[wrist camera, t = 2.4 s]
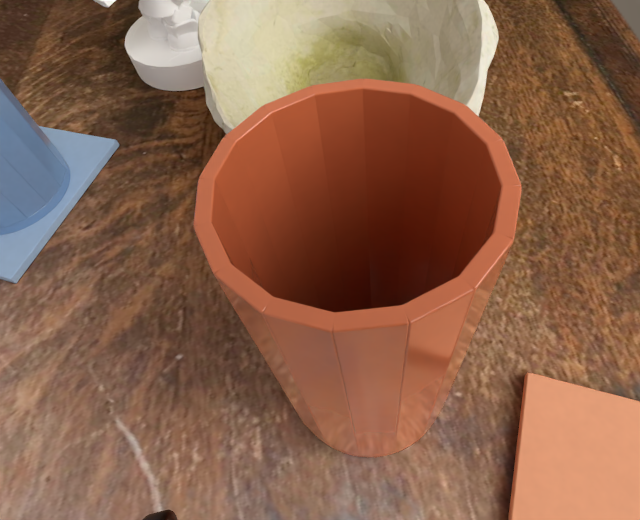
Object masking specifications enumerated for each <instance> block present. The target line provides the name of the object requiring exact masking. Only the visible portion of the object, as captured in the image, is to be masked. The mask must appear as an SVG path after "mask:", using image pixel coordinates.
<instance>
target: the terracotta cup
mask: <svg viewBox="0 0 640 520" xmlns="http://www.w3.org/2000/svg"><path fill="white" fill-rule="evenodd" d="M521 192H522V188H521V183H520V180H519V178H518V175H517V173H516V170H515V168H514V165H513V163H512V160H511V158H510V155H509V153H508V150H507V148H506V145H505V143H504V141H503V140H502V138H501V137H500V136H499V135H498V134H497V133H496V132H495V131H494V130H493V129H491V128H490V127H489V126H488V125H487V124H486V123H485V122H484V121H483V120H482V119H481V118H480V117H478V116H477V115H476V114H475V113H474V112H473V111H472V110H471V109H470V108H469V107H468V106H466V105H464V104H463V103H460V102H458V101H456V100H453V99H451V98H449V97H446V96H444V95H441V94H439V93H437V92H434V91H432V90H430V89H427V88H425V87H422V86H420V85H416V84H411V83H402V82H394V81H385V80H376V79H368V78H364V79H363V78H360V79H353V80H346V81H339V82H332V83H324V84H317V85H312V86H308V87H306V88H303V89H301V90H298V91H296V92H294V93H291V94H289V95H286V96H284V97H282V98H279V99H277V100H274V101H272V102H269V103H267V104H265V105H263V106H261V107H260V108H259V109H257V110H256V111H255V112H254V113H252V114H251V115H250V116H249V117H247V118H246V119H245V120H244V121H243V122H241V123H240V124H239V125H238V126H236V127H235V128H234V129H233V130H231V131H230V132H229V133H228V134H226V135H225V136H224V138H222V140H221V142H220V143H219V145H218V147H217V148H216V150H215V151H214V153H213V155H212V156H211V158H210V160H209V161H208V163H207V165H206V166H205V168H204V170H203V171H202V173H201V175H200V176H199V179H198V186H197V195H196V205H195V215H194V225H193V226H194V231H195V233H196V235H197V238H198V240H199V242H200V245H201V247H202V249H203V252H204V254H205V256H206V259H207V261H208V263H209V266H210V268H211V270H212V273H213V275H214V276H215V278H216V280H217V281H218V283H219V285H220V286H221V288H222V290H223V291H224V293H225V294H226V296H227V298H228V299H229V301H230V303H231V304H232V306H233V308H234V309H235V311H236V313H237V314H238V316H239V318H240V319H241V321H242V323H243V324H244V326H245V328H246V329H247V331H248V333H249V334H250V336H251V338H252V339H253V341H254V342H255V344H256V346H257V347H258V349H259V351H260V352H261V354H262V356H263V357H264V359H265V361H266V362H267V364H268V366H269V367H270V369H271V371H272V372H273V374H274V376H275V377H276V379H277V381H278V382H279V384H280V386H281V387H282V389H283V390H284V392H285V394H286V395H287V397H288V399H289V400H290V402H291V404H292V405H293V407H294V409H295V410H296V412H297V414H298V415H299V417H300V419H301V420H302V422H303V423H304V424H305V425H306V426H307V427H308V428H309V429H310V431H311V432H312V433H313V434H314V435H315V436H316V437H317V438H319V439H320V440H321V441H322V442H324V443H325V444H327V445H328V446H330V447H332V448H333V449H335V450H338V451H340V452H343V453H345V454H349V455H353V456H358V457H381V456H387V455H390V454H394V453H397V452H399V451H401V450H404V449H406V448H408V447H409V446H411V445H412V444H414V443H415V442H417V441H418V440H419V439H420V438H421V437H422V436H424V434H425V433H426V432H427V431H428V430H429V428H430V427H431V426H432V424H433V423H434V421H435V419H436V418H437V416H438V415H439V413H440V412H441V410H442V408H443V406H444V403H445V401H446V399H447V396H448V394H449V392H450V389H451V387H452V385H453V382H454V380H455V378H456V375H457V373H458V371H459V368H460V366H461V363H462V361H463V359H464V356H465V354H466V352H467V349H468V347H469V345H470V342H471V340H472V338H473V335H474V333H475V331H476V328H477V326H478V324H479V321H480V319H481V316H482V314H483V312H484V309H485V307H486V305H487V302H488V300H489V298H490V295H491V293H492V291H493V288H494V286H495V284H496V281H497V279H498V277H499V274H500V272H501V269H502V267H503V265H504V262H505V260H506V258H507V255H508V253H509V251H510V248H511V246H512V244H513V241H514V239H515V232H516V226H517V219H518V212H519V205H520V199H521Z"/></svg>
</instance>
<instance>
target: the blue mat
mask: <svg viewBox="0 0 640 520" xmlns="http://www.w3.org/2000/svg"><path fill="white" fill-rule="evenodd" d="M39 127H40V128H41V130H42V131H43V132H44V133H45V135H46V136H47V137H48V138H49V140H50V141H51V142H52V143H53V145H54V146H55V147H56V148H57V150H58V151H59V152H60V153H61V155H62V156H63V158H64V160H65V161H66V162H67V164H68V166H69V169H70V183H69V186H68V189H67V191H66V193H65V195H64V196H63V198H62V199H61V201H60V202H59V203H58V204H57V205H56V207H55V208H54V209H52V210H51V211H50V212H49V213H48V214H47V215H46V216H44V217H43V218H42V219H40V220H39V221H37V222H35V223H34V224H32V225H30V226H28V227H26V228H24V229H21V230H19V231H16V232H12V233H9V234H4V235H0V279H2V280H5V281H9V282H12V283H17V282H18V281H19V279H20V278H21V277H22V275H23V274H24V273H25V271H26V270H27V269H28V267H29V266H30V265H31V263H32V262H33V261H34V259H35V258H36V257H37V255H38V254H39V253H40V251H41V250H42V249H43V247H44V246H45V245H46V243H47V242H48V241H49V239H50V238H51V237H52V235H53V234H54V233H55V231H56V230H57V229H58V227H59V226H60V225H61V223H62V222H63V221H64V219H65V218H66V217H67V215H68V214H69V213H70V211H71V210H72V208H73V207H74V206H75V204H76V203H77V202H78V200H79V199H80V198H81V196H82V195H83V194H84V192H85V191H86V190H87V188H88V187H89V186H90V184H91V183H92V182H93V180H94V179H95V178H96V176H97V175H98V174H99V172H100V171H101V170H102V168H103V167H104V166H105V164H106V163H107V162H108V160H109V159H110V158H111V156H112V155H113V154H114V152H115V151H116V150H117V148H118V147H119V146H120V145H119V143H118V142H117V140H114V139H108V138H103V137H97V136H91V135H86V134H80V133H74V132H69V131H63V130H58V129H52V128H46V127H41V126H39Z"/></svg>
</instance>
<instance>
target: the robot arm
mask: <svg viewBox="0 0 640 520" xmlns="http://www.w3.org/2000/svg"><path fill="white" fill-rule="evenodd" d="M143 520H177V517H176V515H175V513H174V512H173V511H171V510H164V511H161V512H157V513H153V514H149V515H147V516H146V517H145V518H144V519H143Z"/></svg>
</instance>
